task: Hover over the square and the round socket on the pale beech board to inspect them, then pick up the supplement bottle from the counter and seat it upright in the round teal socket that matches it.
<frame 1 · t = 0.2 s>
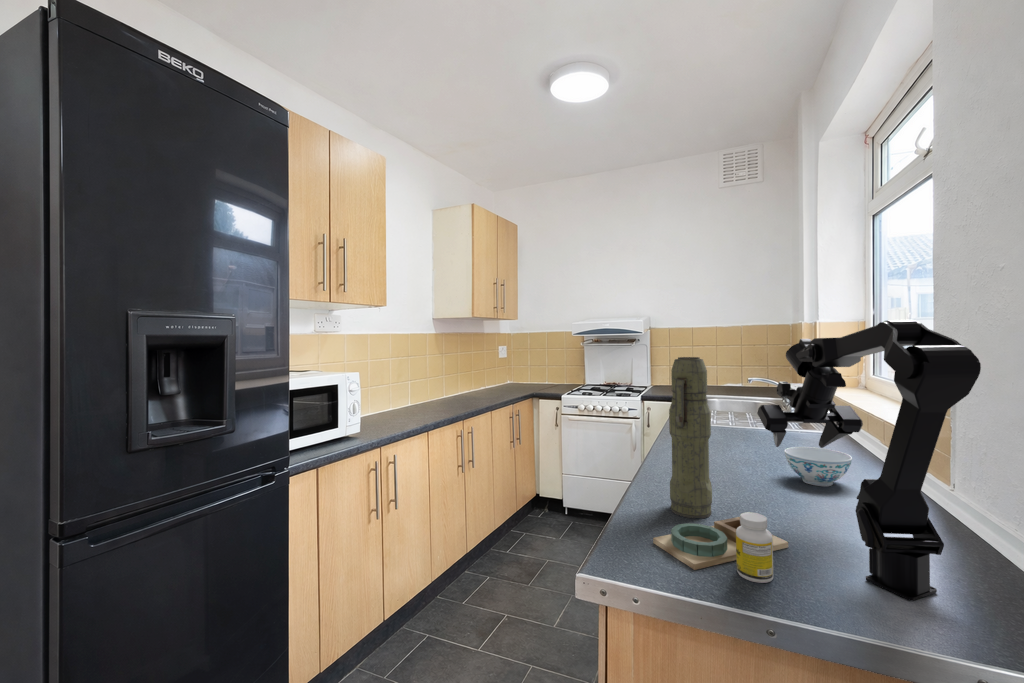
hand: (798, 446, 102), 15 cm above the counter, tool tilted 30°, fingers open, 9 cm apart
thermos: (690, 511, 103), on the counter
supplement bottle: (754, 576, 75), on the counter
chinaware: (817, 483, 121), on the counter
socket board: (719, 545, 86), on the counter
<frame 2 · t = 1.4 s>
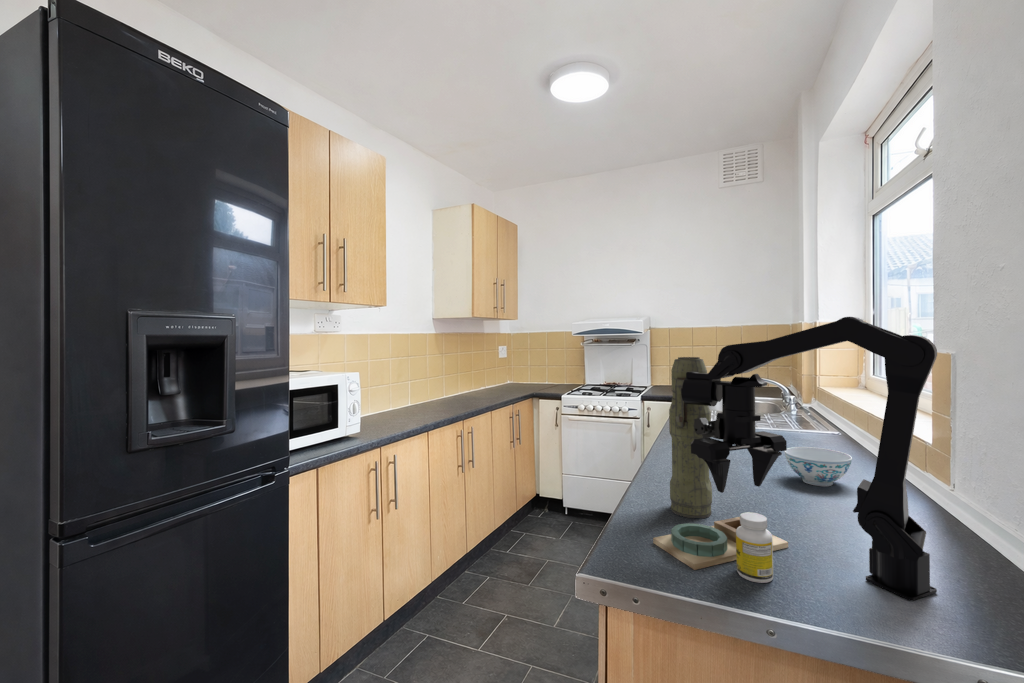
hand: (739, 488, 88), 10 cm above the counter, tool pointing down, fingers open, 9 cm apart
nothing on the counter moved.
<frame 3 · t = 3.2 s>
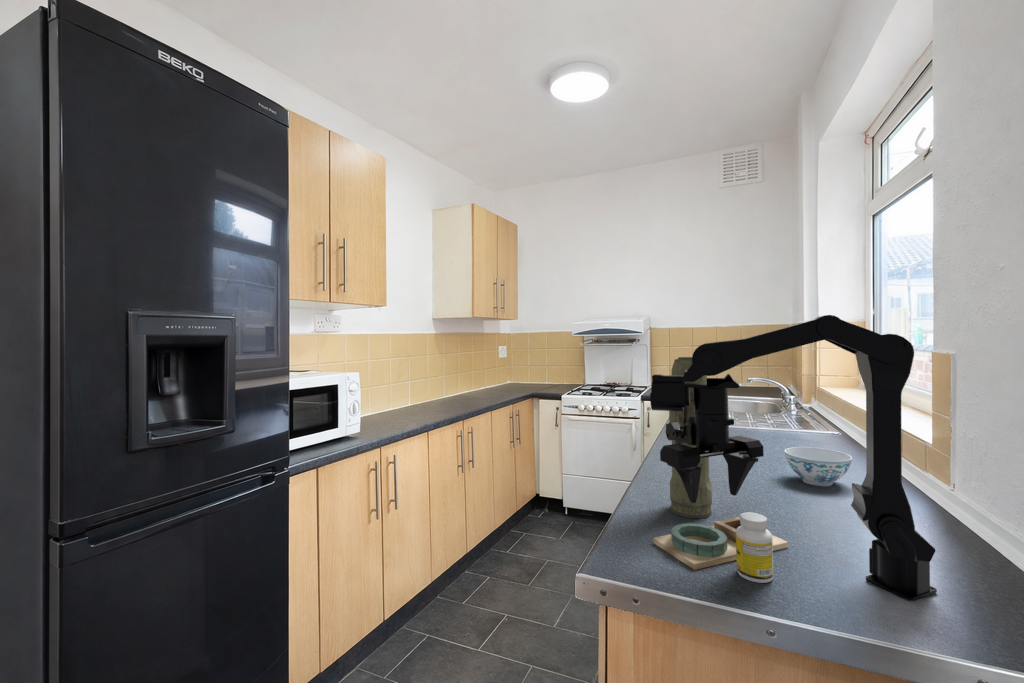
hand: (713, 498, 82), 10 cm above the counter, tool pointing down, fingers open, 9 cm apart
nothing on the counter moved.
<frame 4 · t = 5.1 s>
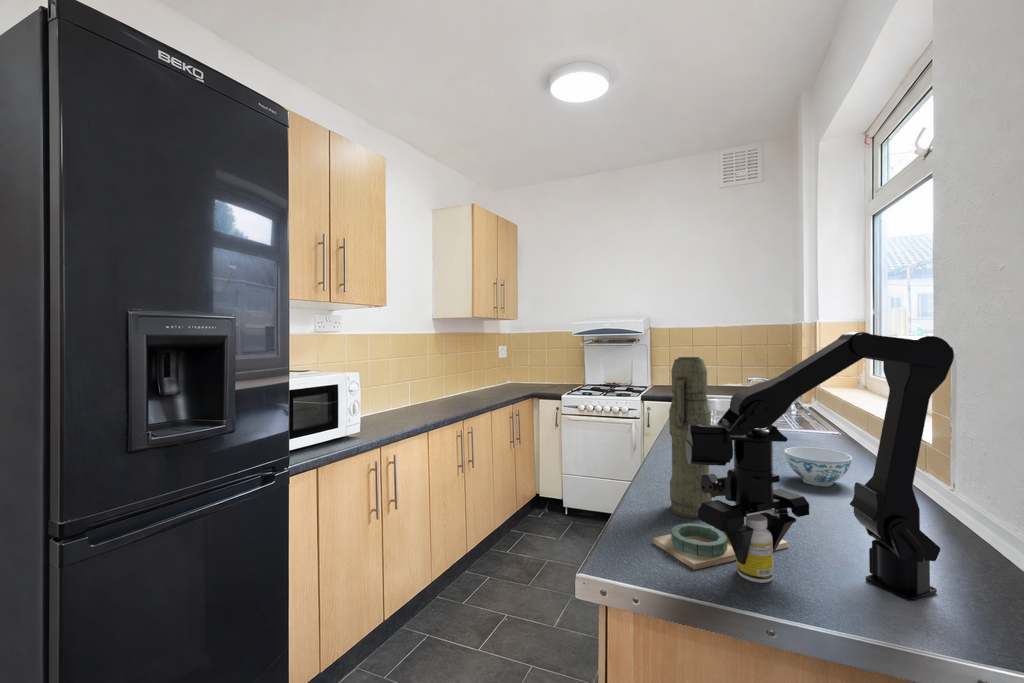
hand: (754, 560, 75), 3 cm above the counter, tool pointing down, fingers closed on supplement bottle, 5 cm apart
supplement bottle: (754, 576, 75), on the counter, touching gripper
everything else where it was.
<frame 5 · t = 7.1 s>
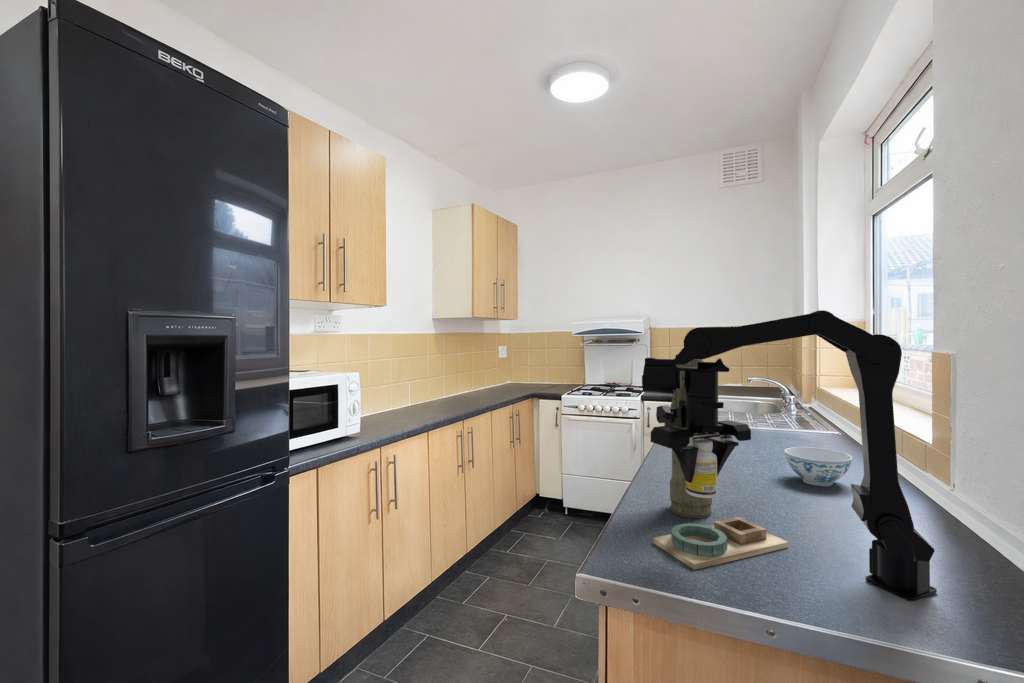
hand: (701, 480, 83), 13 cm above the counter, tool pointing down, fingers closed on supplement bottle, 5 cm apart
supplement bottle: (701, 494, 83), point 11 cm above the counter, touching gripper
everything else where it was.
when the fingers open (5 cm above the counter, at t = 9.1 s): supplement bottle drops 1 cm, resting on socket board.
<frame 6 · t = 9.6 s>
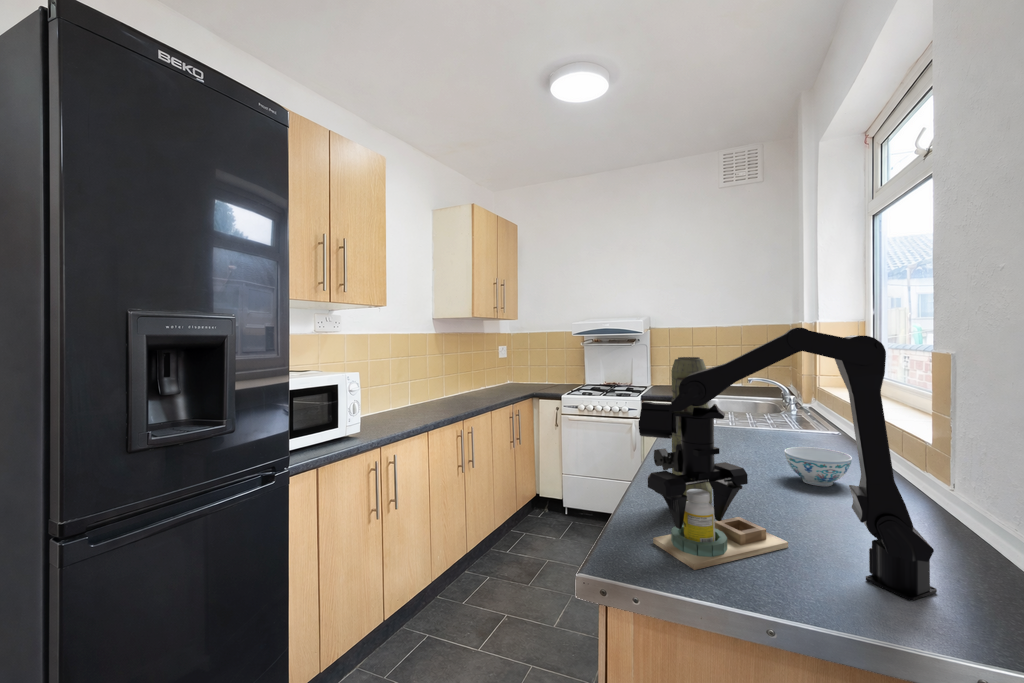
hand: (698, 524, 84), 5 cm above the counter, tool pointing down, fingers open, 9 cm apart
supplement bottle: (699, 545, 84), point 1 cm above the counter, touching socket board
everything else where it was.
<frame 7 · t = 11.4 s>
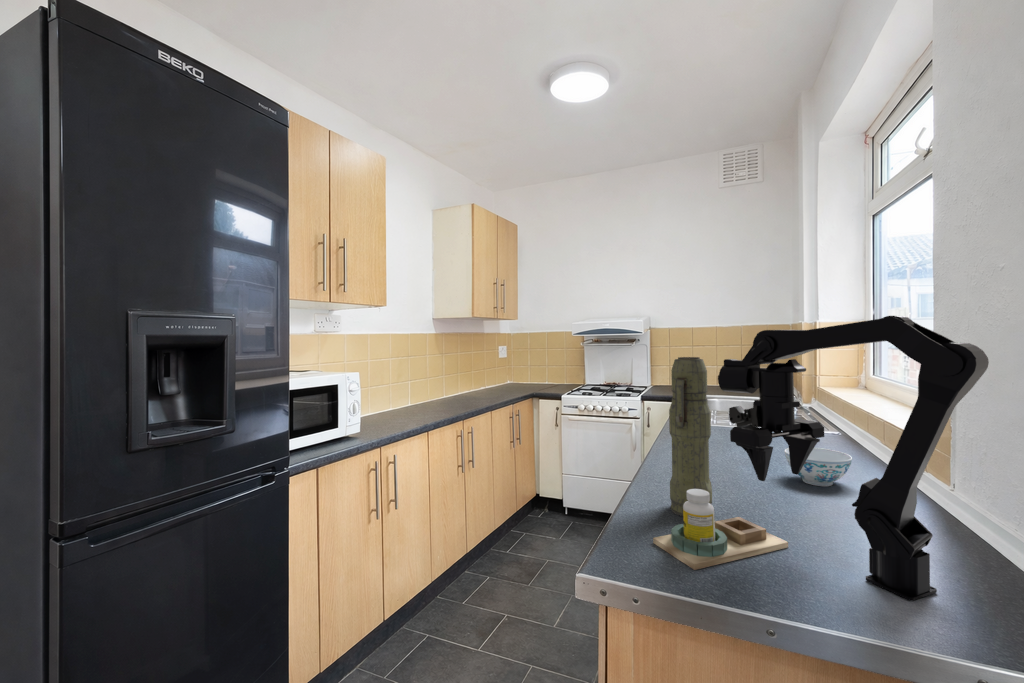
hand: (778, 477, 86), 13 cm above the counter, tool pointing down, fingers open, 9 cm apart
nothing on the counter moved.
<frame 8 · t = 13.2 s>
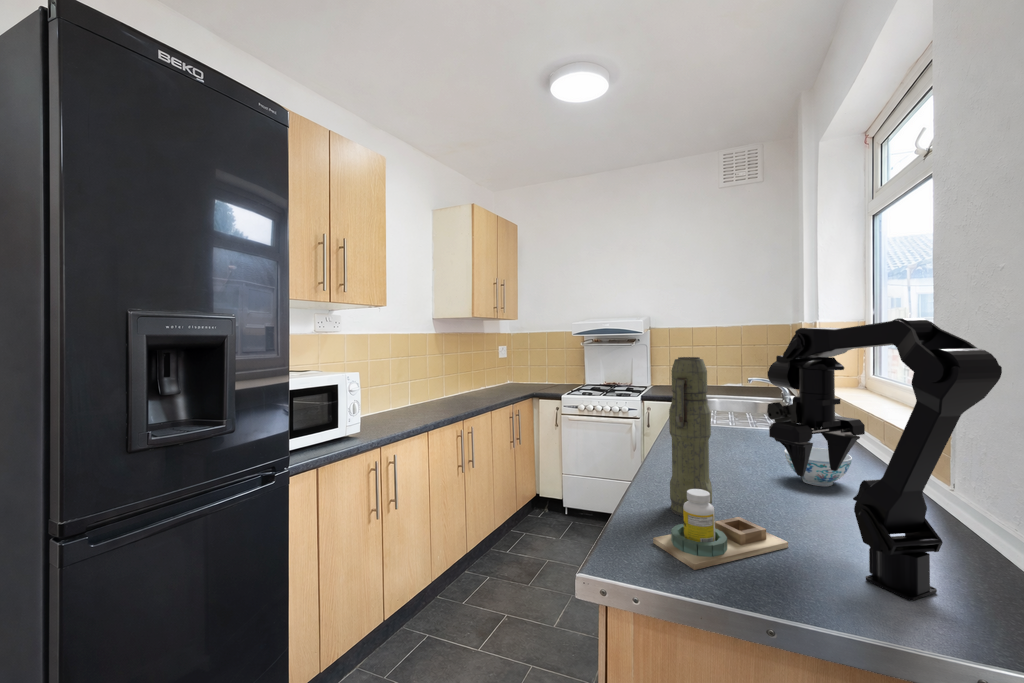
hand: (817, 473, 87), 13 cm above the counter, tool pointing down, fingers open, 9 cm apart
nothing on the counter moved.
at the end: supplement bottle 0.1 cm from the target spot on the socket board, point 0.8 cm above the socket board's base; supplement bottle tilted 0°; the gripper is holding nothing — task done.
